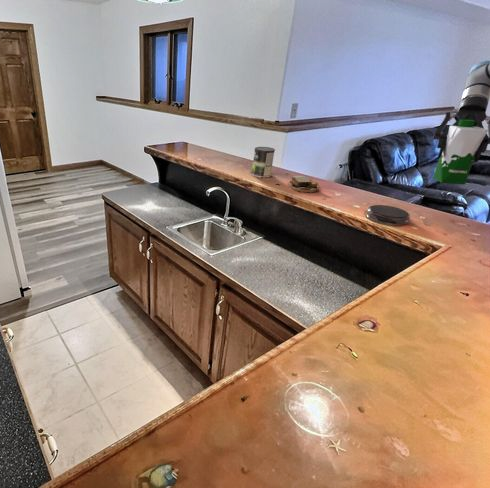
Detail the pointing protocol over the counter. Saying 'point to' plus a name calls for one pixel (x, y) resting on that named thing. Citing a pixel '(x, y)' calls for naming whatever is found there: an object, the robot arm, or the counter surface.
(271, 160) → the coffee can
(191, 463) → the counter surface
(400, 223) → the stand
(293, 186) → the toy sandwich meal
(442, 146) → the robot arm
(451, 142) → the soya milk
